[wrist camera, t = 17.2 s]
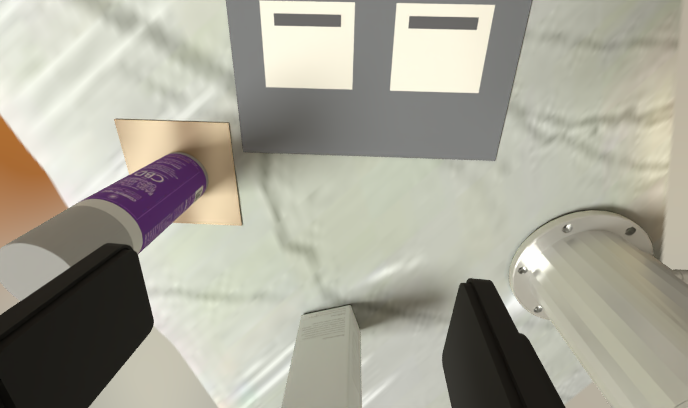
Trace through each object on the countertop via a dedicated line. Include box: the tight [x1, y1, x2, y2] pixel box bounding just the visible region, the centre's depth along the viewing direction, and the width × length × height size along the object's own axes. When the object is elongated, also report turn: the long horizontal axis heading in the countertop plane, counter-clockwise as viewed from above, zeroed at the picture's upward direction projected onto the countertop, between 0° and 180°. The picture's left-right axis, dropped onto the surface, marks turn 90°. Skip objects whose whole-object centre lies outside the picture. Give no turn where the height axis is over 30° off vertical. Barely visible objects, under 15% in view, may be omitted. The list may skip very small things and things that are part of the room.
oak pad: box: [114, 119, 242, 226], centre depth 30 cm, size 10×10×1 cm
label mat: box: [226, 0, 532, 161], centre depth 25 cm, size 22×17×1 cm
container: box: [0, 152, 209, 301], centre depth 23 cm, size 5×5×15 cm
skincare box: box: [281, 305, 362, 408], centre depth 32 cm, size 6×4×12 cm
